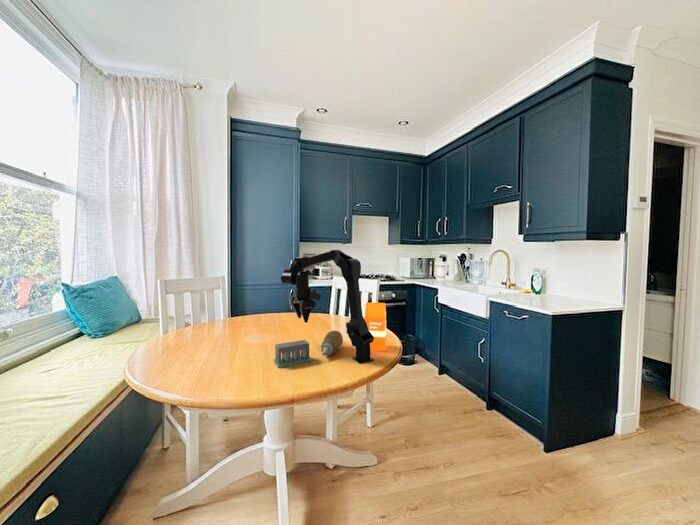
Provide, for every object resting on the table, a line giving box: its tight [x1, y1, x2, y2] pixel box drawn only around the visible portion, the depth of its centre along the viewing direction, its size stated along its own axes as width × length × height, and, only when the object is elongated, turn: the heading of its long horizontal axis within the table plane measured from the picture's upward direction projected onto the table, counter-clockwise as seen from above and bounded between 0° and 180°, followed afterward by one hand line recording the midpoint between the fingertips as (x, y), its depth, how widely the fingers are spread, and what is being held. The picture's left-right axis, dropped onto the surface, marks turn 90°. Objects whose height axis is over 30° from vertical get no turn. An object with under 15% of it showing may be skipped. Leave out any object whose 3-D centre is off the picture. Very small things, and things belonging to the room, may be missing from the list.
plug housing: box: [274, 339, 310, 364], centre depth 116 cm, size 12×5×6 cm, turn 117°
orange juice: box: [363, 302, 387, 352], centre depth 131 cm, size 8×9×20 cm
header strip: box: [273, 350, 313, 369], centre depth 116 cm, size 13×7×4 cm, turn 117°
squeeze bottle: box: [320, 330, 344, 356], centre depth 125 cm, size 8×8×18 cm
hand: (302, 320), depth 133 cm, fingers open, 9 cm apart
